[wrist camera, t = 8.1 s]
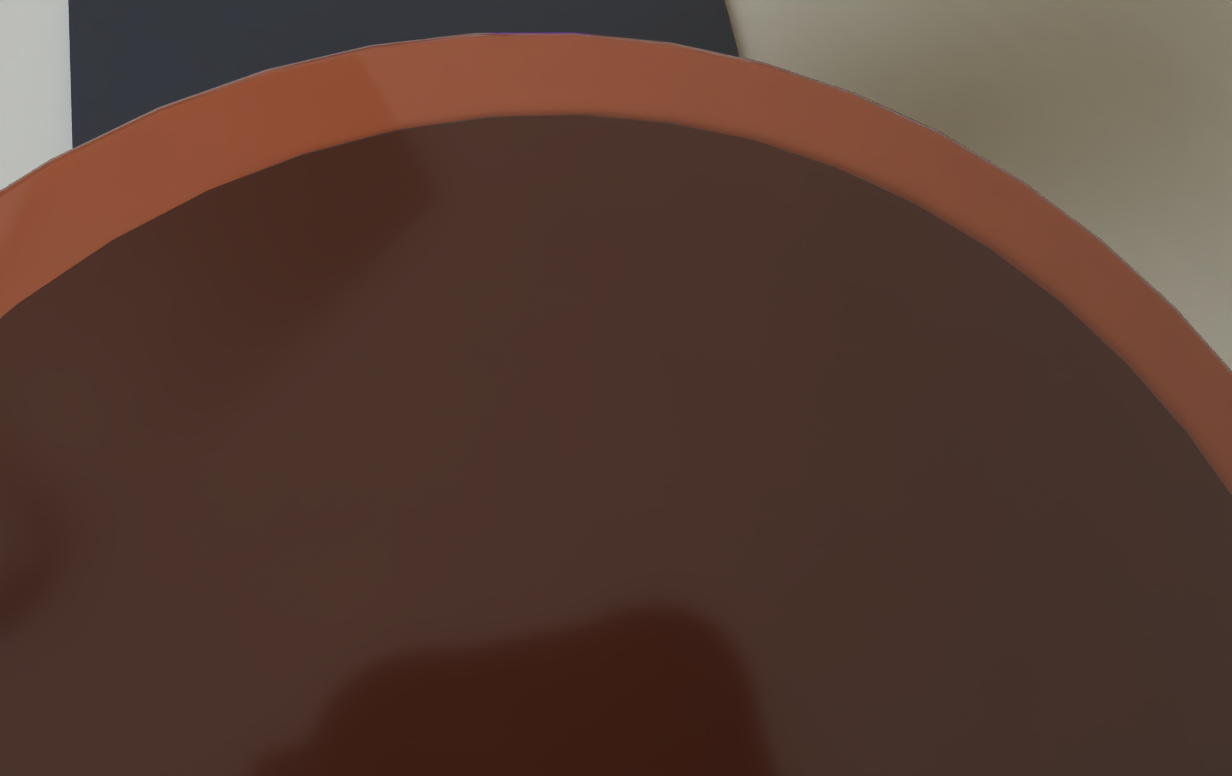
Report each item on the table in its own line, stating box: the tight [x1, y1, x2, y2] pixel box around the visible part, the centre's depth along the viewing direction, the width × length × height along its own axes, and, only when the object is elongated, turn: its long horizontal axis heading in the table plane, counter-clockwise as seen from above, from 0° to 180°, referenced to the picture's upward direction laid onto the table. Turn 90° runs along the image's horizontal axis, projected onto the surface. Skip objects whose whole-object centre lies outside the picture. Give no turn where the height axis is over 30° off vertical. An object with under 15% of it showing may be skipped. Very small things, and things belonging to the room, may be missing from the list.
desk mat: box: [69, 0, 739, 148], centre depth 14 cm, size 21×13×1 cm, turn 11°
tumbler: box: [0, 32, 1232, 776], centre depth 8 cm, size 7×7×11 cm
